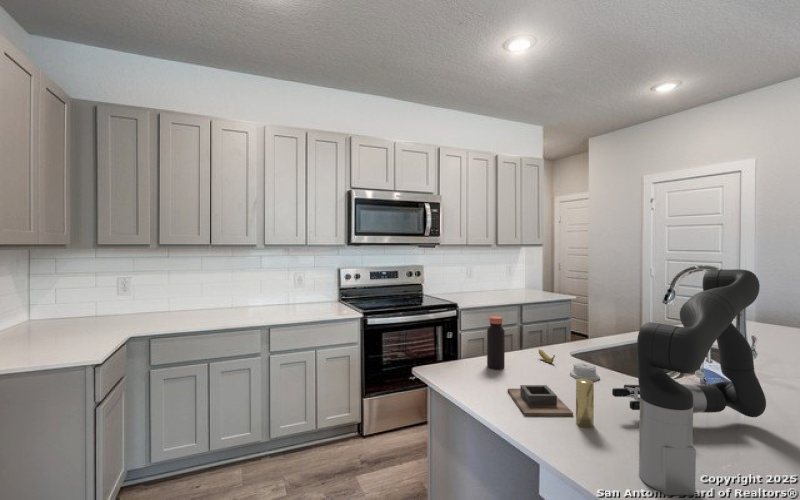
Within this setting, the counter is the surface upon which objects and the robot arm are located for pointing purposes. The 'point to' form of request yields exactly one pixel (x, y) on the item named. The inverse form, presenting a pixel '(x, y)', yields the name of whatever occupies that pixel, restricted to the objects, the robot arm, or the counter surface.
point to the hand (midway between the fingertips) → (621, 398)
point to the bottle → (495, 344)
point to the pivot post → (585, 403)
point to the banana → (546, 356)
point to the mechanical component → (584, 372)
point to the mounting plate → (539, 401)
